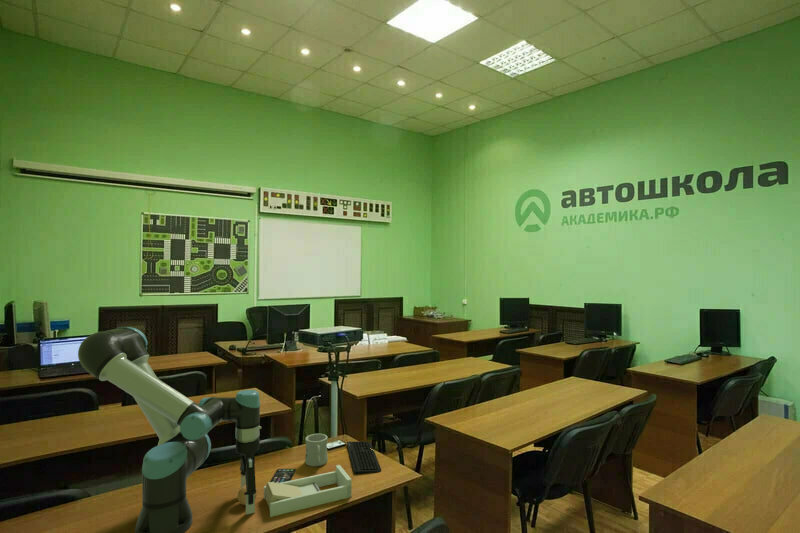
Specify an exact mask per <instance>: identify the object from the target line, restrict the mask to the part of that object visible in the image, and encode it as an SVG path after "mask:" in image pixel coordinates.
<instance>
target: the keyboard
mask: <svg viewBox="0 0 800 533" xmlns="http://www.w3.org/2000/svg"><path fill="white" fill-rule="evenodd" d="M346 447H347V451H348V455H349V459H350V463H351V467H352V471H353V474H354V475H357V476H358V475H365V474H374V473H375V474H376V473H377V474H378V473H382V468H381V465H380V463H379V460H378V457H377V455H376V453H375V450H374V448H373V445H372V443H371V442H370V441H347V442H346ZM370 448H371V449H373V450H374V451H373V450H371V449H370Z"/></svg>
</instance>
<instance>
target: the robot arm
mask: <svg viewBox="0 0 800 533" xmlns="http://www.w3.org/2000/svg"><path fill="white" fill-rule="evenodd" d="M147 349H148V340H147V337H146V335H145V334H144V333H143V331H141V330H140V329H138V328H135V327H132V326H126V327H125V326H122V327H117V328H114V329H109V330H104V331H97V332H94V333H91V334H90V335H88V336H87V337H86V338H84V340H82V342H81V343H80V345H79V347H78V349H77V350H78V351H77V358H78V361H79V363H80V365H81V366H82V368H84V370H85V371H86V372H87V373H89V374H90V375H91V376H93V377H94V378H95V379H98V380H99V381H101V382H105V381H108V382H109V383H111V384H113V385H115V386H116V387H117V388H119V389H121V390H123V391H124V392H125V393H126V394H129V395H130V396H132V397H133V399H134V401H135V402H136V403H137V405H138V407H139V408H140V411H141V412H142V413H143V414H144V416H145V418H146V419H147V421H148V423H149V424H150V426H151V427H152V429H153V431H154V433H155V434H156V435H157V437H158V439H159V440H158V443H157V445H156V446H154V447H152V448H151V449H149V450H148V451H147V452H146V453H145V454H144V457H143V460H142V461H143V462H142V466H141V467H142V468H141V474H142V475H141V477H142V484H141V485H142V488H141V489H142V490H141V491H142V495H141V496H142V498H141V499H142V502H141V503H142V506H141V509H140V511H139V515H138V518H137V521H136V524H135V527H134V528H135V529H134V533H185V532H187V531H188V530H189V528H190V527H191V526H192V524H193V512H192V508H191V506H190V503H189V501H188V498H187V480H188V478H189V477H190V476H191V475H192V474H193V473H194V472H195V471H196V470H197V469H199V467H201V466H202V465H203V464H204V463H205V461H206V460H207V458H208V457H209V455H210V453H211V449H212V443H211V439H210V437H209V435H208V433H209V432H210V431H212V429H213V428H215V427H216V426H217V425H218V424H219V423H221V422H235V439H236V440H235V453H237V454H240V464H239V470H240V489H241V488H242V487H243V486H245V485H246V491H247V492H245V493H244V495H246V505H245V515H252V514H255V512H256V499H255V493H256V491H257V486H256V468H255V467H256V465H255V464H256V458H255V455H254V453H256V452H258V451H259V450H260V446H261V444H260V442H261V441H260V440H261V438H260V435H261V434H260V432H261V431H260V430H261V429H262V426H260V424H261V423H260V422H261V421H260V420H261V419H260V418H261V416H260V414H261V409H260V408H261V403H260V402H261V401H260V393H259V391H257V390H256V389H255V390H254V389H245V390H240V391H238V392H236V395H235V397H231V396H230V397H228V396H227V397H221V396H220V397H219V396H218V397H216V396H211V397H202V399H200V401H199V402H198V403H197V402H195V401H194V400H191V399H190V398H188V397H187V396H185V395H184V394H182V393H181V392H179V391H178V390H176V389H175V388H173V387H171V386H170V385H168V384H167V383H165V382H164V381H162V380H161V379H159V378H158V377H157V374H155V372H154V370H153V368H152V367H151V366H150V364H149V362H148V361H149V358H150V354H149V353H148V351H147Z"/></svg>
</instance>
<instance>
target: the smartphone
mask: <svg viewBox="0 0 800 533" xmlns="http://www.w3.org/2000/svg"><path fill="white" fill-rule="evenodd" d="M296 470H297V469H296V468H278V469H277V468H276V471H275V472H274V473H273V475H272V476H271V479H270V480H269V482H273V483H282V482H286V481H291V480H293V476H294V475H295V474H296Z"/></svg>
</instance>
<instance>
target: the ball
mask: <svg viewBox="0 0 800 533" xmlns="http://www.w3.org/2000/svg"><path fill="white" fill-rule="evenodd" d="M245 492H247V491H246V485H245V486H243V487H242V488H241V487H240V489H239V490H238V493H237V500H238V502H239V503H240V505H243V506H246V495H244V493H245ZM257 492H258V491H257V490H256V493H255V500H256V499H257Z"/></svg>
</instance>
